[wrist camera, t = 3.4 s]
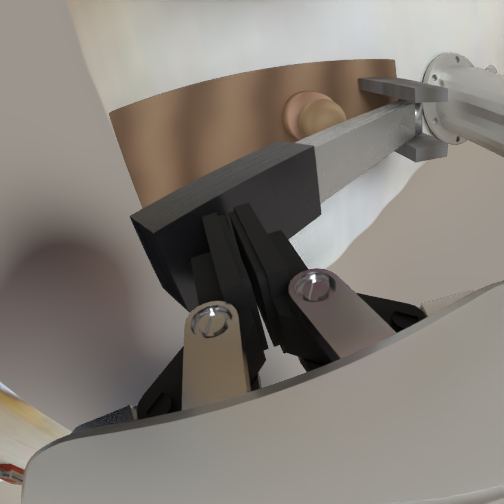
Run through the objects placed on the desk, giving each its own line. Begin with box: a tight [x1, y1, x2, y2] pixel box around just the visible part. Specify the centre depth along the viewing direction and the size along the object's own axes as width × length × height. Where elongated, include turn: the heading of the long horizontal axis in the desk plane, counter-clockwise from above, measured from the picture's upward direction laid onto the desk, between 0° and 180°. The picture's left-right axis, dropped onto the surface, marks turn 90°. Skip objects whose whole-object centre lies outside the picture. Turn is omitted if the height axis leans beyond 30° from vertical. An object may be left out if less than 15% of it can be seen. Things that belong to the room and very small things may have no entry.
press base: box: [109, 59, 448, 208], centre depth 23 cm, size 28×10×10 cm, turn 102°
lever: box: [130, 99, 422, 312], centre depth 17 cm, size 25×4×2 cm, turn 103°
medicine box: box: [0, 464, 25, 485], centre depth 67 cm, size 15×8×8 cm, turn 116°
